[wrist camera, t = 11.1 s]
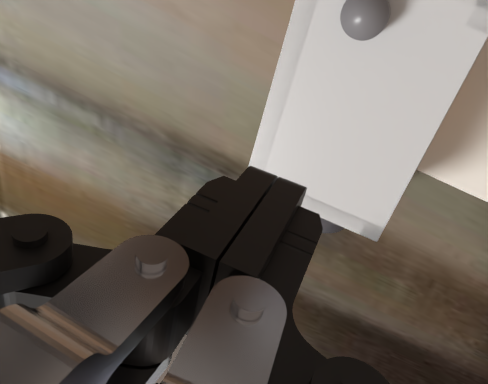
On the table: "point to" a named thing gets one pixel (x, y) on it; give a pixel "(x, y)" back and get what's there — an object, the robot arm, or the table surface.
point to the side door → (463, 135)
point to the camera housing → (364, 100)
